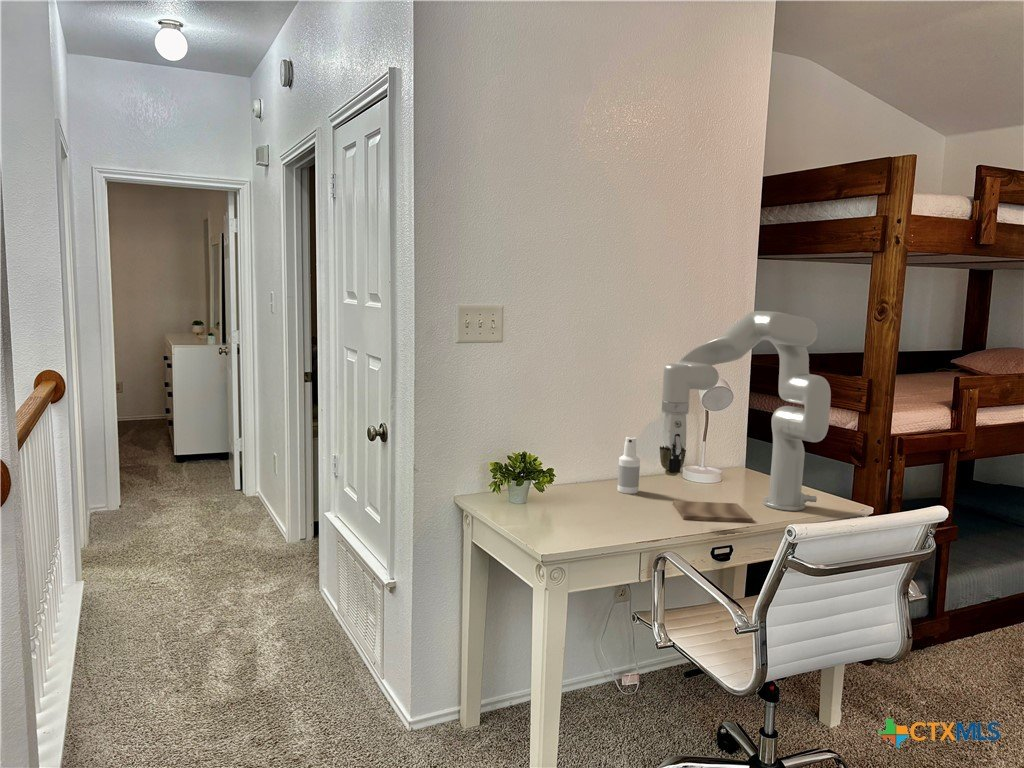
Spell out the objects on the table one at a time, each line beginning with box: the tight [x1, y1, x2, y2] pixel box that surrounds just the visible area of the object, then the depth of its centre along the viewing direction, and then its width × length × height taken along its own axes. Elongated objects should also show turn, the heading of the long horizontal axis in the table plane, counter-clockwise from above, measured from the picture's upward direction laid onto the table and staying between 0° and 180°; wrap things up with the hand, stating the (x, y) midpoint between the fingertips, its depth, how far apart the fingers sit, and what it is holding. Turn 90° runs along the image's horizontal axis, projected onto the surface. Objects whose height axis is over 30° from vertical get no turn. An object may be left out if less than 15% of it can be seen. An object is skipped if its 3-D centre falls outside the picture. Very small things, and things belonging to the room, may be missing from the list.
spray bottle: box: [616, 436, 641, 495], centre depth 250 cm, size 7×7×18 cm
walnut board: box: [672, 500, 754, 523], centre depth 229 cm, size 20×16×1 cm
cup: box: [659, 445, 687, 477], centre depth 217 cm, size 8×7×8 cm
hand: (671, 468), depth 217 cm, fingers closed on cup, 6 cm apart
